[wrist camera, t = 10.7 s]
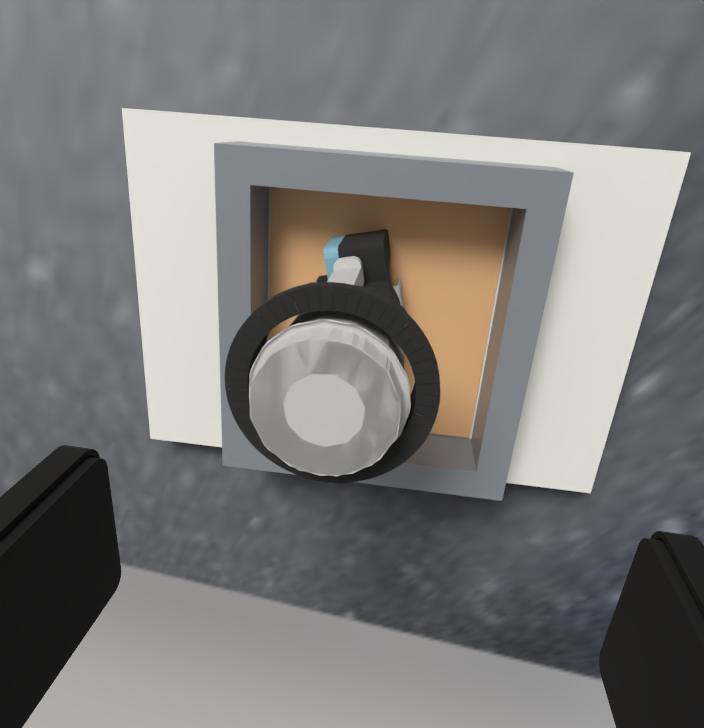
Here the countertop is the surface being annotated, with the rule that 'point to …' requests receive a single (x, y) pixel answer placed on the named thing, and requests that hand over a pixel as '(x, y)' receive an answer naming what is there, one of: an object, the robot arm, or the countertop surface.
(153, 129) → the dock board
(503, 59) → the countertop surface
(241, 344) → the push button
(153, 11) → the countertop surface
